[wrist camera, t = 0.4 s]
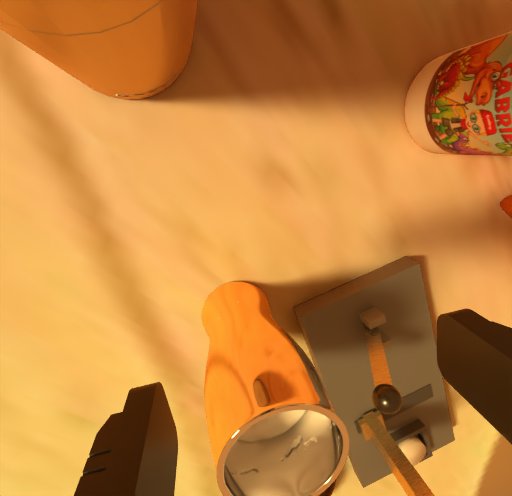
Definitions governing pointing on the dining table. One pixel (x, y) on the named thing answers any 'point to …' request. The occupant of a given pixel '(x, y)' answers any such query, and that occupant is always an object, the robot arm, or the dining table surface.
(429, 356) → the switch panel
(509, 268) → the dining table surface
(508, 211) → the carrot
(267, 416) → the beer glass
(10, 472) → the dining table surface
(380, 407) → the toggle lever
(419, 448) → the push button
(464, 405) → the dining table surface
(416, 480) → the block
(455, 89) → the milk bottle
